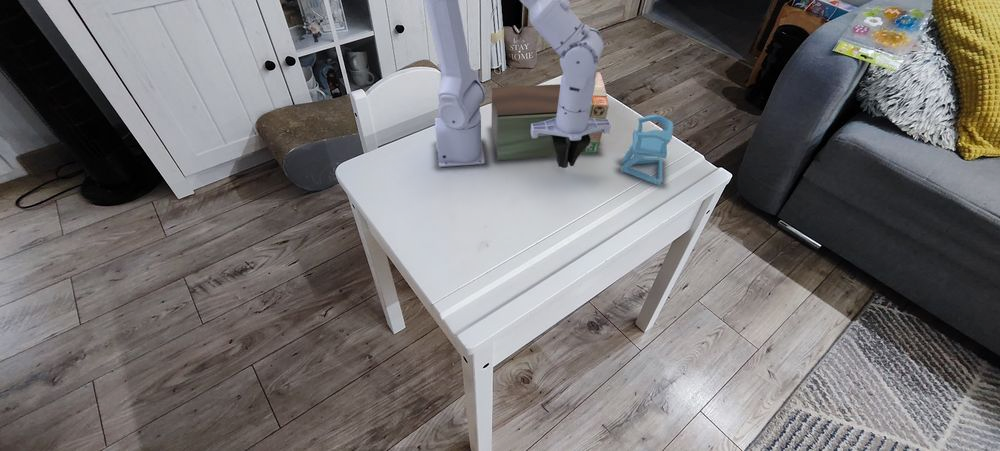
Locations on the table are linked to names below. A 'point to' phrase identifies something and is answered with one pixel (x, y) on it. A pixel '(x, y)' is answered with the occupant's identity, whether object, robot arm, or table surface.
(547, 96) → the cupboard
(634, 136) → the chair
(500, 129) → the cupboard door
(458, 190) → the table surface
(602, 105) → the stack of blocks
